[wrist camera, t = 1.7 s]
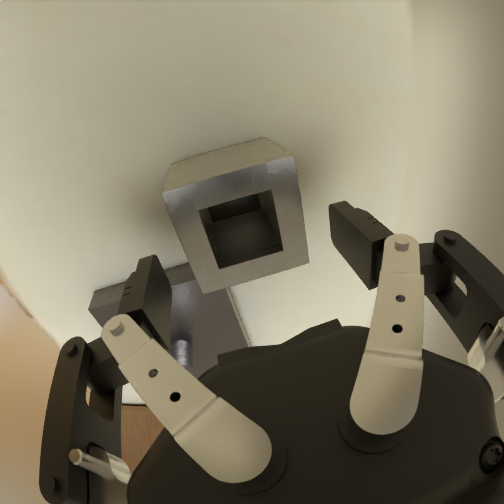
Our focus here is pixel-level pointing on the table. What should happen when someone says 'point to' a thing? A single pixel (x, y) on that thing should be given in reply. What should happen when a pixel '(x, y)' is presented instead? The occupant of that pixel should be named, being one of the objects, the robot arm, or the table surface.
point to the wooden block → (137, 433)
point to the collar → (241, 226)
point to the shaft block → (188, 320)
